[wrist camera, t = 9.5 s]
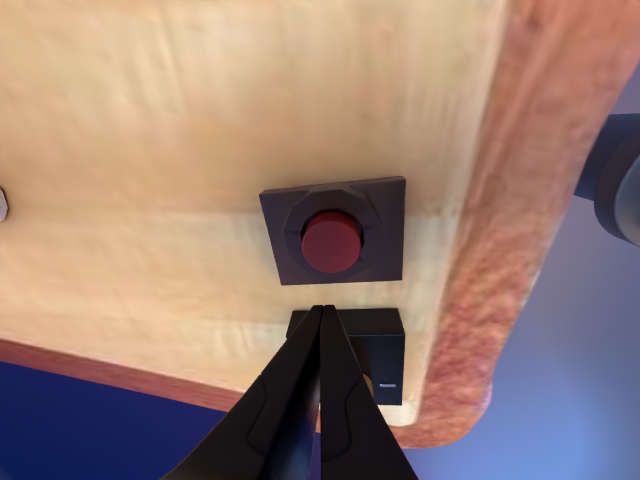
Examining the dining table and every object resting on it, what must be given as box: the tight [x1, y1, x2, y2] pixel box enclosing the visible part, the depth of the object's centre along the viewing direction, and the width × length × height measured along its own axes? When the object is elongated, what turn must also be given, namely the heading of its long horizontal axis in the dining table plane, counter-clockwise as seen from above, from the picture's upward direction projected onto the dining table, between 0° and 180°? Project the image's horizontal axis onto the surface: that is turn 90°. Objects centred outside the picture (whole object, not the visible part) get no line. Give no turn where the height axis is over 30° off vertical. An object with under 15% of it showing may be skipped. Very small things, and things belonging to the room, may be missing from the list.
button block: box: [259, 176, 406, 285], centre depth 17 cm, size 10×8×3 cm
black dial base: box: [286, 308, 405, 406], centre depth 23 cm, size 10×11×3 cm
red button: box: [302, 212, 361, 273], centre depth 15 cm, size 4×4×2 cm
